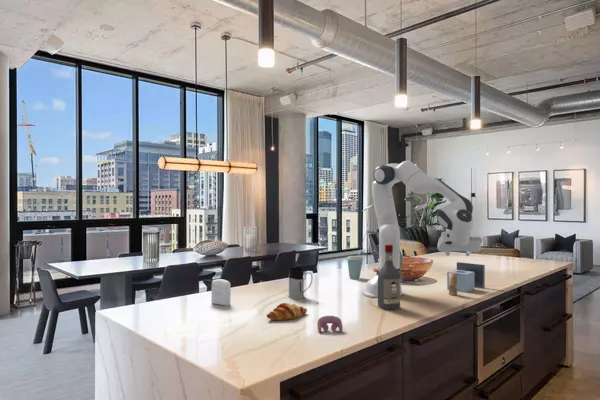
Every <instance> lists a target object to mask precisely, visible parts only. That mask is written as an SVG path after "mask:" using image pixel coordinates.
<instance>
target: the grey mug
mask: <svg viewBox="0 0 600 400" xmlns="http://www.w3.org/2000/svg"><path fill="white" fill-rule="evenodd" d="M308 274H309V275H310V276H311V281H310V284H309V285H308V287H307V288H305V289H304V287H305V286H304V284H305V283H304V281H306V278H307V277H306V276H307V275H308ZM312 283H313V274H312V273H311V272H309V271H308V272H306V273H305V274H304V268H301V267H291V268H289V269H288V299H293V300H294V299H295V300H297V299H298V300H300V299H304V298H305V294H304V293H305V292H306V291H307V290H308V289H309V288H310V287H311V285H312Z"/></svg>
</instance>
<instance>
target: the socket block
mask: <svg viewBox="0 0 600 400" xmlns="http://www.w3.org/2000/svg"><path fill="white" fill-rule="evenodd" d="M449 273H456V274H457V292H462V293H469V292H471V291H474V290H475V287H474V272H471V271H462V270H457V269H454V270H450V271H447V273H446V275H447V277H446V280H447V281H446V284H447V285H446V287H447V290H448V291H449Z"/></svg>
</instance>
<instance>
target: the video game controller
mask: <svg viewBox="0 0 600 400" xmlns="http://www.w3.org/2000/svg"><path fill="white" fill-rule="evenodd" d="M328 324H331V325H330V328H329V325H328ZM316 325H317V331H318V334H321V333H322V330H323V331H324V330H327V331H329V329H330V330H331V331H333V330H335V331H336V330H337V329H338V330H339V332H340V333H341V332H343V330H344V329H343V322H342V319H341V318H340V317H339V316H335V315H325V316H321V317H319V318H318V319H317V324H316Z"/></svg>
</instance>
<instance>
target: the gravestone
mask: <svg viewBox="0 0 600 400" xmlns="http://www.w3.org/2000/svg"><path fill="white" fill-rule="evenodd" d="M211 281H212V282H211V300H210V301H211V304H213V305H220V306H225V307H227V306H230V305H231V295H232V294H231V291H232V289H231V288H232V287H231V286H232V285H231V282H230V281H229V280H226V279H223V278H222V279H221V278H217V279H213V280H211Z"/></svg>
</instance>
